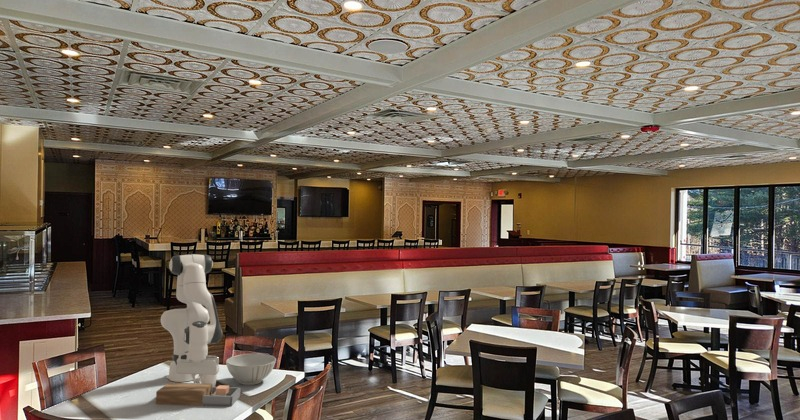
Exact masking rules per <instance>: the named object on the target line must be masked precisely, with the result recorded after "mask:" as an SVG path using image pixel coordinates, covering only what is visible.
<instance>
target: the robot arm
mask: <svg viewBox="0 0 800 420" xmlns="http://www.w3.org/2000/svg"><path fill="white" fill-rule="evenodd" d="M213 264H214V261H213V260H212V256H210V255H208V254H195V253H193V254H182V255H179V254H177V255H173V256H172V257H171V258H170V261H169V264H168V265H169V267H168V268H169V270H170V273H171V274H173V275H176V276H177V279H176V291H175V292H176V293H175V297H176V299H177V300H178V302H181V303H183V304H186V307H185V308H174V309H173V308H172V309H169V310H166V311H164V312H163V313H162V314H161V316H160V324H161V326H162V328H164V329H165V330H167V332H168V333H170V335H171V337H172V340H173V353H172V361H171V362H170V364H169V369H168V370H169V371H168V375H166V378H165V379H168V380H169V381H170V382H173V383H186V382H189V381H190V382H191V381H193V383H201V378H202V377H203V375H216V374H217V373H219V371H220V370H219V369H220V365H218V364H219V363H220V358H219V356H217V355H210V354H208V352H209V351H208V350H209V346H208V344H210V345H211V344H213V345H214V344H218V343H219V342H220V341H221V340H222V338H223V330H222V326H221V324H220V320H219V315H218V310H217V305H216V302H215V298H214V296H213V294H212V293H211V292H209V290H208V288H207V284H206V283H207V280H206V275H207V274H209V273H210V272H211V271H212V268H213ZM209 322H210V323H209ZM217 375H218V374H217Z"/></svg>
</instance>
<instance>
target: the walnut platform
mask: <svg viewBox="0 0 800 420" xmlns="http://www.w3.org/2000/svg"><path fill="white" fill-rule="evenodd" d="M203 395H212V384H203V383H201V382H200V383H194V382H167V383H166V384H164V385H163V386H161V388H160V389H158V390H156V393H155V404H156V405H172V406H173V405H176V406H178V405H180V406H203Z"/></svg>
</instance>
